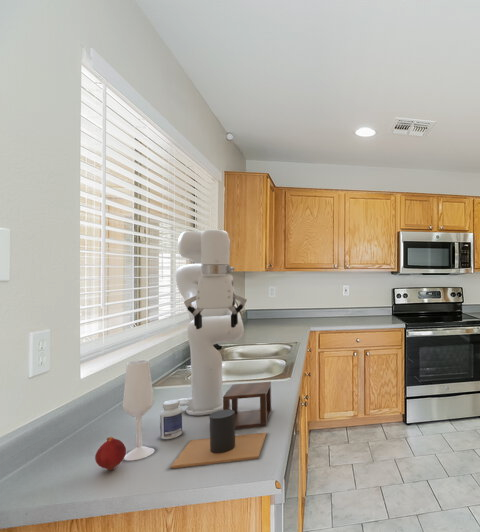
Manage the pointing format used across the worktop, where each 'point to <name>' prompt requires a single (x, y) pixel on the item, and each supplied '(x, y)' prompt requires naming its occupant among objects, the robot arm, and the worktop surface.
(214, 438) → the dark grey cylinder
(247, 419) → the wooden frame
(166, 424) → the pill bottle
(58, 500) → the worktop surface
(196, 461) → the mat
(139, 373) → the champagne flute
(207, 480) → the worktop surface
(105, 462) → the onion
